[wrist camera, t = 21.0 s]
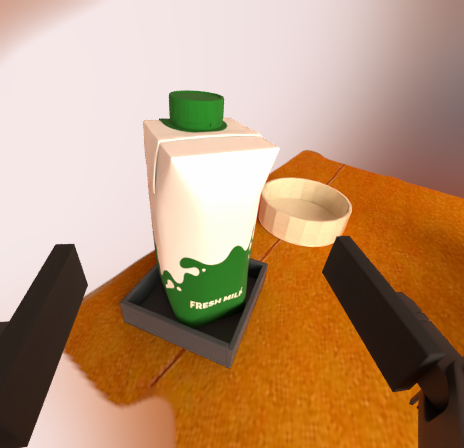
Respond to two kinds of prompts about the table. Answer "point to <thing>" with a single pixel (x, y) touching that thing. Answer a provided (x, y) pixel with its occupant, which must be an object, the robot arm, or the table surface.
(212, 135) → the milk carton
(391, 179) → the table surface
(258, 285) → the tray
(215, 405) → the table surface
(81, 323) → the table surface
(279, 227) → the bowl
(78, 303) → the robot arm
